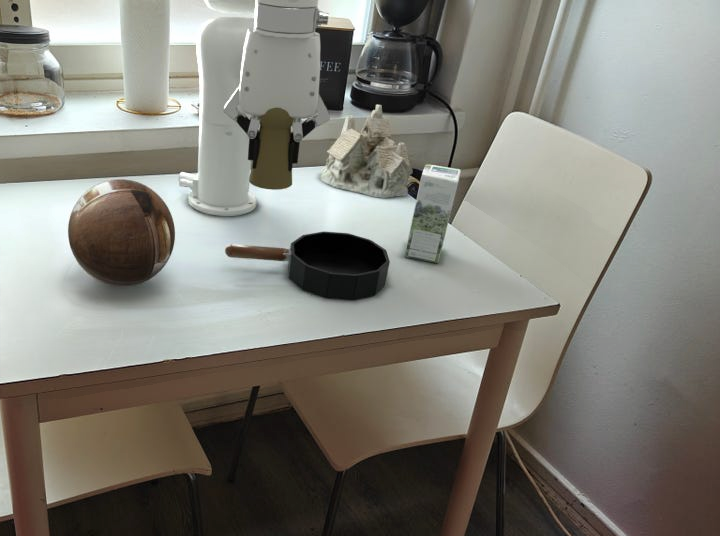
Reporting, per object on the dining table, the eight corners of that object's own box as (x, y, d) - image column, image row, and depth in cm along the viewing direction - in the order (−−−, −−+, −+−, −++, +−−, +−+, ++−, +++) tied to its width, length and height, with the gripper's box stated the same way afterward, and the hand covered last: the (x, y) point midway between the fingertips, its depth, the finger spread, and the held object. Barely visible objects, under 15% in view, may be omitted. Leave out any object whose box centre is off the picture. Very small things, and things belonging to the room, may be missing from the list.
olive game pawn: (289, 192, 95) (298, 108, 89) (245, 186, 96) (250, 102, 90) (295, 177, 100) (303, 96, 94) (253, 171, 101) (259, 91, 95)
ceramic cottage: (313, 170, 150) (327, 98, 141) (384, 171, 154) (402, 102, 145) (338, 203, 139) (354, 127, 129) (414, 203, 143) (435, 130, 134)
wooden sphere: (54, 271, 106) (45, 174, 98) (141, 250, 114) (139, 158, 106) (102, 315, 97) (97, 212, 89) (193, 288, 105) (197, 191, 96)
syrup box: (441, 250, 122) (462, 167, 113) (438, 264, 117) (458, 179, 109) (408, 244, 123) (425, 161, 115) (403, 258, 118) (421, 173, 110)
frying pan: (221, 290, 105) (222, 265, 103) (226, 247, 117) (227, 224, 115) (390, 303, 105) (395, 278, 103) (377, 258, 117) (381, 235, 115)
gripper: (350, 20, 90) (330, 162, 100) (218, 10, 90) (212, 153, 100) (356, 30, 84) (335, 180, 94) (214, 20, 84) (208, 171, 94)
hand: (272, 165), depth 97 cm, fingers closed on olive game pawn, 4 cm apart
